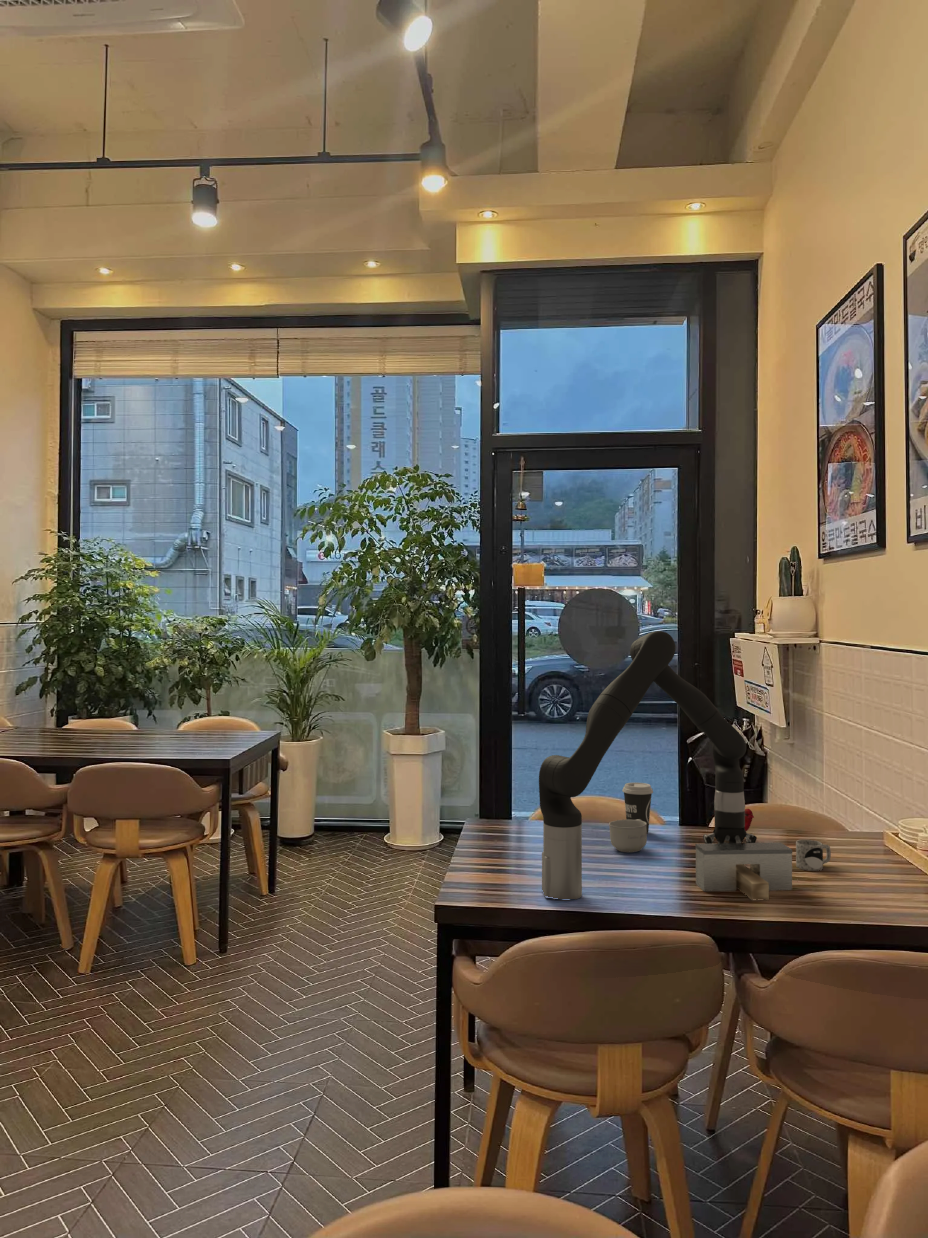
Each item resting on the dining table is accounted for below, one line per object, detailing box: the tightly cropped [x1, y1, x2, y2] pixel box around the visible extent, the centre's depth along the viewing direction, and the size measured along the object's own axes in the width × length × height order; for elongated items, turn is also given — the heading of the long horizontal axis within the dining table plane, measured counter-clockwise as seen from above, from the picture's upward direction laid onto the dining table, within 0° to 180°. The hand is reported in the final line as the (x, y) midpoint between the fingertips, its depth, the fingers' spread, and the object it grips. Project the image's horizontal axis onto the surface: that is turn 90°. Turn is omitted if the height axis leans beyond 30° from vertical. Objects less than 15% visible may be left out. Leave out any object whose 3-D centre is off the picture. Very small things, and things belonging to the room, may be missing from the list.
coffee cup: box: [621, 782, 654, 835], centre depth 256 cm, size 10×10×15 cm
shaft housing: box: [695, 842, 793, 892], centre depth 202 cm, size 22×6×10 cm, turn 93°
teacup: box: [608, 819, 648, 853], centre depth 237 cm, size 14×11×8 cm
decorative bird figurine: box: [713, 808, 755, 832], centre depth 250 cm, size 3×18×10 cm, turn 24°
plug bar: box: [736, 864, 770, 901], centre depth 203 cm, size 4×22×4 cm, turn 3°
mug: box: [795, 839, 832, 872], centre depth 219 cm, size 10×7×7 cm
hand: (729, 873), depth 211 cm, fingers closed on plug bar, 4 cm apart
